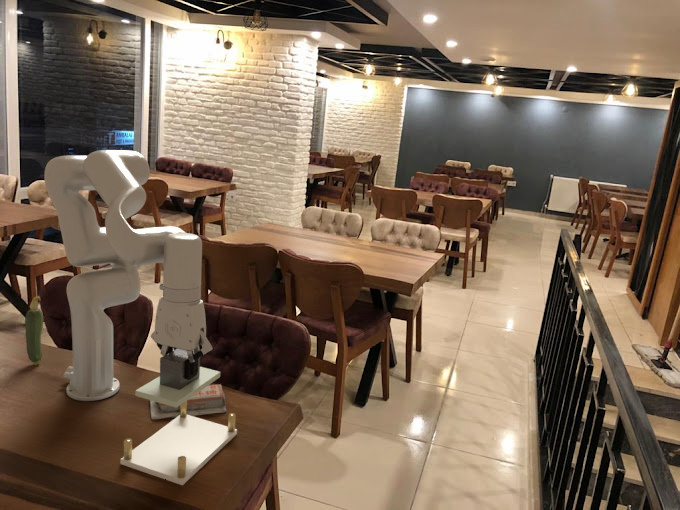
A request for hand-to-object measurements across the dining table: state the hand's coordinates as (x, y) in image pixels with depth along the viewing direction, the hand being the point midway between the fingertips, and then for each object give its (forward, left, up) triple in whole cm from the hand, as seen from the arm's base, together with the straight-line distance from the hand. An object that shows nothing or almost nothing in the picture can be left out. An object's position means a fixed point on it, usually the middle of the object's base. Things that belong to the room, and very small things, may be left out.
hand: (180, 373), depth 118 cm
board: (0, 0, -3) cm, 3 cm away
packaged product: (-9, +16, -19) cm, 26 cm away
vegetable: (-58, +15, -18) cm, 63 cm away
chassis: (+1, 0, -18) cm, 18 cm away
